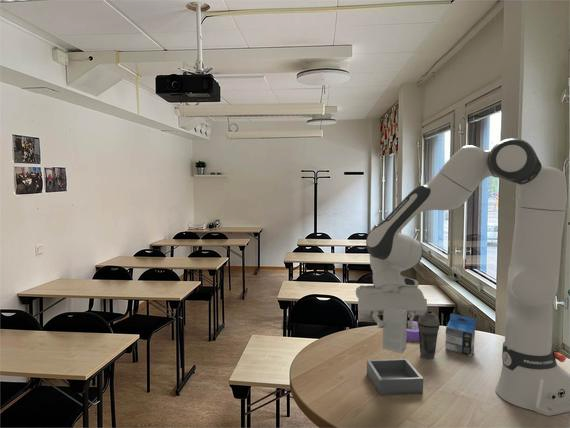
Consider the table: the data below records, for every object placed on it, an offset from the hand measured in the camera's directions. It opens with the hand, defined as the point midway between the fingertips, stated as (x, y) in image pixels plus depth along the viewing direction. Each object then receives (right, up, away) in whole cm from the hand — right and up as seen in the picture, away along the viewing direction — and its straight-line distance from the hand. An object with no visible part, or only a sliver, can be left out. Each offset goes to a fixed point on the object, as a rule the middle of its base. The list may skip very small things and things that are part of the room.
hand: (395, 327), depth 118 cm
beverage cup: (+17, -16, +21) cm, 31 cm away
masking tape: (+17, -14, +40) cm, 45 cm away
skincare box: (0, -7, +1) cm, 7 cm away
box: (0, -17, +2) cm, 17 cm away
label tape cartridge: (+29, -16, +25) cm, 41 cm away
